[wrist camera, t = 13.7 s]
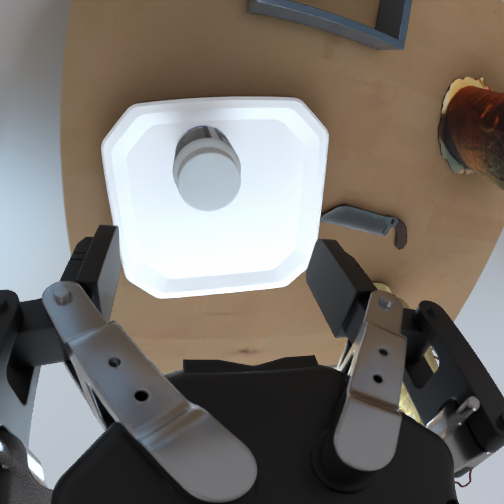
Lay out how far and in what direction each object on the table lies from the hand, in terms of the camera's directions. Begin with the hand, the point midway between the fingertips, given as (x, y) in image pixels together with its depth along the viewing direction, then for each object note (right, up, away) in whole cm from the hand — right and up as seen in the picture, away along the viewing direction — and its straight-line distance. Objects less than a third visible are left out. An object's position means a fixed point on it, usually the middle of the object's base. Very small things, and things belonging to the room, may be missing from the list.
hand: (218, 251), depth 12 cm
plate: (-2, +5, +19) cm, 20 cm away
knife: (+15, +3, +24) cm, 28 cm away
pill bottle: (-3, +9, +14) cm, 17 cm away
